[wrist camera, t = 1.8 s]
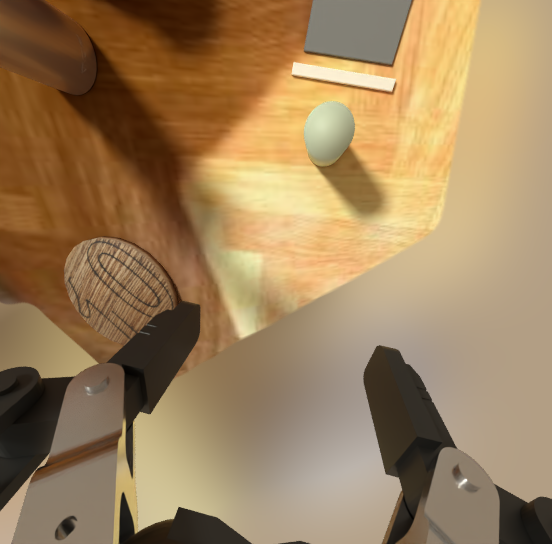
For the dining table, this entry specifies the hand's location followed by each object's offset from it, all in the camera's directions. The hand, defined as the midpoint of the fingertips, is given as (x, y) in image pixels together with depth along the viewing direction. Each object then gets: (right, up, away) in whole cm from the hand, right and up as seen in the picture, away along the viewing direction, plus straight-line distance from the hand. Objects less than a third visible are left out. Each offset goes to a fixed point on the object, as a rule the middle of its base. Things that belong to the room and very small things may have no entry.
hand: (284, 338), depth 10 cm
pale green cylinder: (+7, +21, +22) cm, 31 cm away
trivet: (-33, -2, +38) cm, 50 cm away
